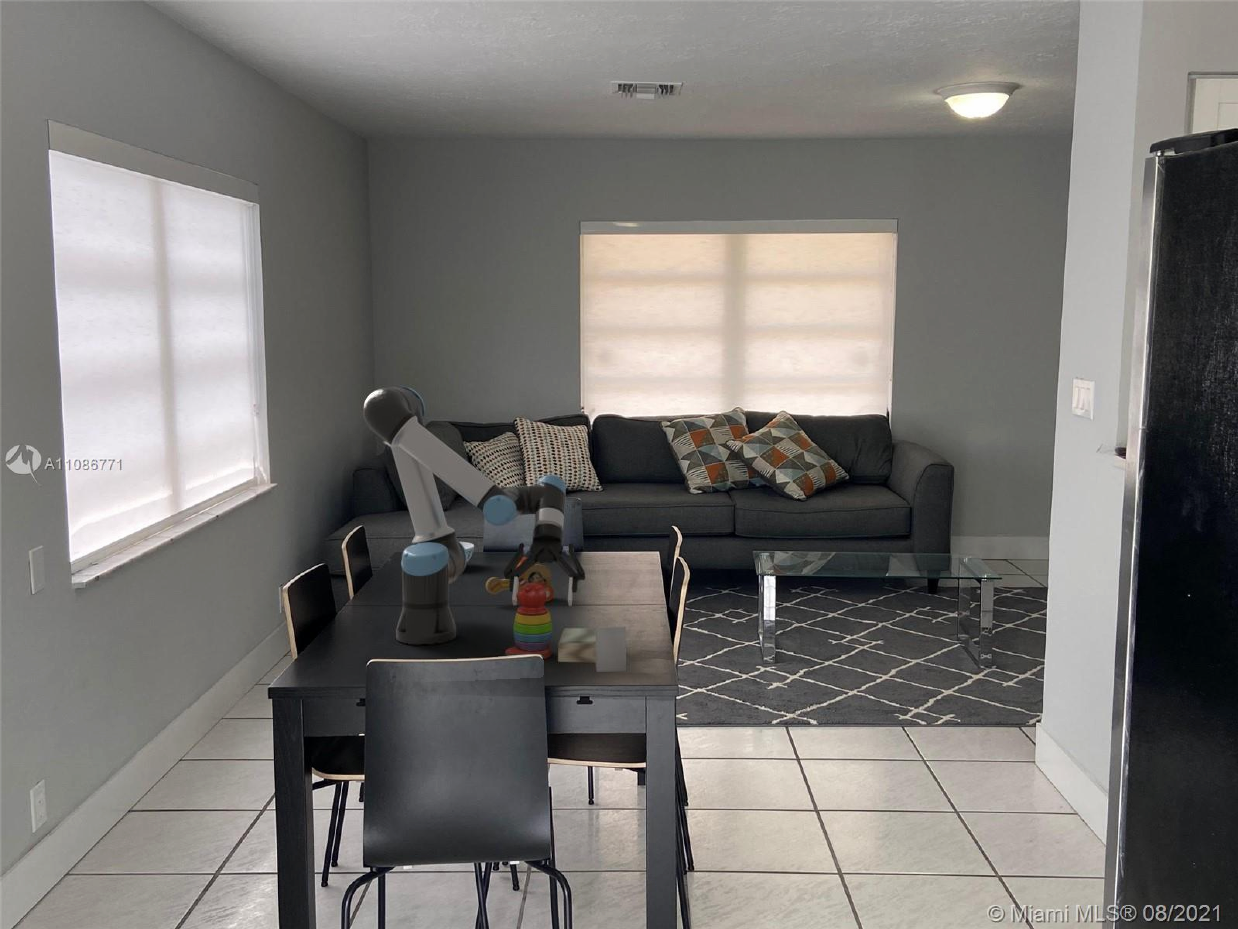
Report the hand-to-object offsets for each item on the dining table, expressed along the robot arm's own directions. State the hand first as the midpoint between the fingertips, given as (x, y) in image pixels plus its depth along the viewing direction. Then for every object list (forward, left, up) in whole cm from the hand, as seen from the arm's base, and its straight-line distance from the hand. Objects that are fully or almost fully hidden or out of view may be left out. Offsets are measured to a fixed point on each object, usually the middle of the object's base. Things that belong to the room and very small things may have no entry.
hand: (541, 603), depth 265 cm
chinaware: (-42, +91, -12) cm, 101 cm away
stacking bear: (-2, -3, -12) cm, 13 cm away
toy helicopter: (-12, +49, -12) cm, 52 cm away
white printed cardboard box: (+18, -13, -12) cm, 25 cm away
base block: (+11, -2, -12) cm, 16 cm away
